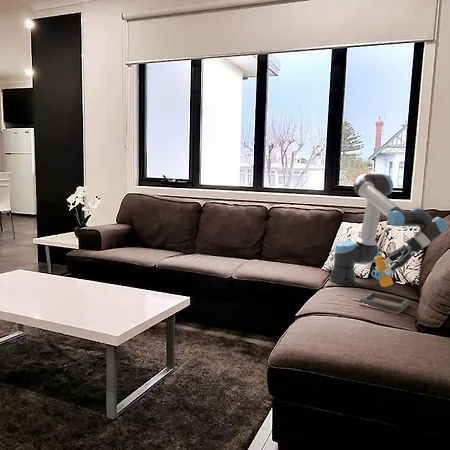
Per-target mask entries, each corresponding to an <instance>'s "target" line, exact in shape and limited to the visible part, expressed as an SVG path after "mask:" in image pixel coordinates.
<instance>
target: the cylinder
mask: <svg viewBox="0 0 450 450" xmlns="http://www.w3.org/2000/svg"><path fill="white" fill-rule="evenodd" d="M374 259H375V262H374V263H375V266H376V268H377V269H372V271H371V272H370V274H371V276H372V278H374V279H376V280H378V281H379V284H380V287H382V288H387V287H389V286H392V285H393V284H394V281H393V278H392V276H394V275H396V273H397V269H396V270H395V271H393V272H392V273H391V274H390V275H388V276H387V275H386V273H385V272H384V271H385V270H386V269H387V268H389V267H390V266H391V265H387V266H385V263H384V260H385V259H384V257H383V255H381V254H379V256H376V257H374ZM374 272H375V273H374Z"/></svg>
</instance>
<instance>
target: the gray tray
mask: <svg viewBox="0 0 450 450" xmlns="http://www.w3.org/2000/svg"><path fill="white" fill-rule="evenodd" d="M359 303H364V304H368V305H369V306H372V307H375V308H378V309H381V310H385V311H388V312H387V313H389V312H391V313H390V314H393V313H394V314H393V315H397V314H398V315H399V314H401V313H402V312H403V311H404V310H405V309H406V308H407V307H409V306H410V299H407V298H402V297H398V296H393V295H389V294H384V293H378V292H376V291H375V292H374V291H371V292H369V293H368V294H366V295H365V296H363V297H361V298H360V299H359Z"/></svg>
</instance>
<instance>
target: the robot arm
mask: <svg viewBox="0 0 450 450" xmlns="http://www.w3.org/2000/svg"><path fill="white" fill-rule="evenodd" d="M353 182H354V183H353V189H354V191H355V193H356V194H357V196H359V197H360V198H362V199H363V198H364V199H365V200H366V204H365V205H366V206H365V210H364V215H363V220H362V225H361V229H360V230H361V231H360V236H359V237H358V238H357V239H356V242H354V241H344V240H343V241H340V242H337V243H336V244H335V248H334V256H333V257H334V258H333V268H332V270H331V273H330V275H329V281H330V282H332V283H335V284H340V285H354V284H356V282H357V278H356V273H355V269H354V268H355V265H356V264H365V265H366V264H371V263H376V262H375V259H374V257H376V256H380V249H379V246H378V245H377V244H378V242H377V241H376V237H377V231H378V226H379V222H380V216H381V213H382V214H383V215H384V216H385V217H386V221H387V222H388V225H390V226H392V227H419V228H420V230H419V231H417V232H416V233H415V234H413V236H412V237H410V238H409V239H408V240H406V243H407V245H405V244H403V245H402V246H400V247H398V248H397V249H396V250H394V251H392V252H390V254H388V257H387V258H385V259H383V260H384V263H385V266H390V267H388V268H387V269H386V270H385V271H384V272H385V273H386V275H387V276H388V275H390V274H393V273H394V271H395V270H396V271H397V269H398V268H403V266H405V265H406V264H407V263H408V262H409V260H410V259H412V257H413V256H414V255H415V254H416V253H417V254H418V253H420V252H421V251H422V250H423V249H424V248H425V247H427V246H430V244H431V242H433V241H434V240H435V239H437V238H438V237H440V236H441V235H443V234H444V232H446V231H447V230H448V229H449V224H448V223H447V222H446V221H445V220H444V219H443V218H442V217H440V216H436V217H434V218H433V216H431V215H430V214H429V213H428V212H426V211H425V210H424V209H422V208H421V207H414V208H411V210H403V209H402V208H401V207H399V206H398V205H397V204H395V202H393V201H392V200H391V199H389V198H388V197H387V196H389V195H390V194H392V192H393V191H394V190H393V189H394V182H393V180H392V177H390V176H389V175H388V174H383V173H363V174H360V175H358V176H357V177H356V178H355V180H354V181H353ZM396 259H397V260H396ZM394 260H396V261H394ZM391 263H392V264H391ZM390 264H391V265H390Z"/></svg>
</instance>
